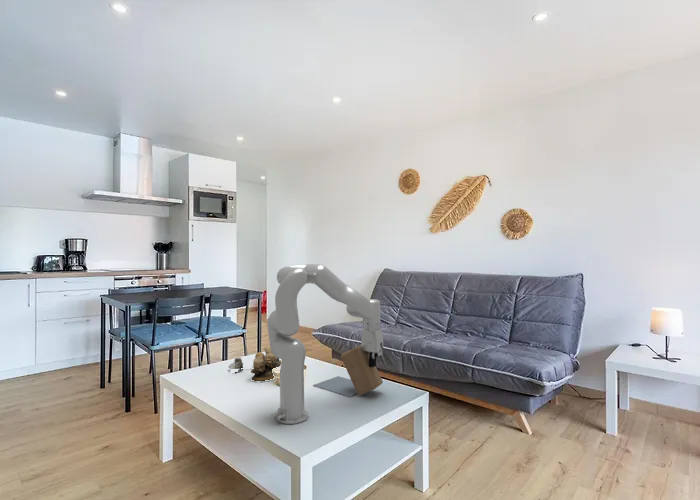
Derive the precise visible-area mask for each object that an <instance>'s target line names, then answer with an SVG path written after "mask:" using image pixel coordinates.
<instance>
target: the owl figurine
mask: <svg viewBox="0 0 700 500" xmlns="http://www.w3.org/2000/svg"><path fill="white" fill-rule="evenodd" d="M264 352H265V353H263V352H256V353H255V355H254V359H253V363H252V368H251V370H250V373H251V374H254V375H253V376H252V377H251V378H252V380H254V381H265V380H270V379H273V378H274V376H273V373H272V369H273V368H276V367H278V368H279V367H281V364H282V359H280V358H278V357H276V356H275V355H274V354H273V353H272V351H271V348H270V345H266V346H265V347H264ZM276 369H277V368H276Z"/></svg>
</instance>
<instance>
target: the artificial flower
mask: <svg viewBox="0 0 700 500" xmlns="http://www.w3.org/2000/svg"><path fill="white" fill-rule="evenodd" d="M243 366H244V362H243V360H242V358H241V357H236V358H235V359H234V360H233V362H232V363H230V364H229V365H228V368H230V369H239V370H240V369H241V368H244V367H243ZM228 368H227V369H228Z"/></svg>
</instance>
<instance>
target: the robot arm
mask: <svg viewBox="0 0 700 500" xmlns="http://www.w3.org/2000/svg"><path fill="white" fill-rule="evenodd" d="M276 280H277V282H278V284H279V285H278V287H277V290H276V292H275V297H274V303H275V304H274V305H275V309H274V310H273V311H272V312H271V313H269V316H268V318H267V333H268V340H269V346H270V348H271V351H272V353H273V354H274V355H275V356H276V357H278V358H279V360H281V362H282V364H281V365H280V369H279V371H280V378H279V400H280V401H279V406H280V407H278V408H277V411H276V412H274V413H271V414H270V416H269V417H270V420H274V419H276V420H277V422H279V423H281V424H285V425H293V424H295V425H296V424H300V423H303V422H305V421H306V420H307V419H309V412H308V411H306V410H305V360H306V355H307V354H306V353H307V352H306V347H305V345H304V343H303V342H302V341H301V340H299V339H298V338H296V337H293V336H295V335H296V334H297V333H298V332H299V330H300V319H299V310H298V295H299V293H300V291H301V290H302V289H303V287H304V286H305V285H306V284H313V285H316V286H317V287H318V288H319V289H320V290H322V292H323V293H325V294H326V295H327V296H329V298H331V299H332V300H335V301H336V302H338V303H342V304H344V305H346V307H345V308H346V313H347V314H348V315H349V316H350V317H351V316H352V317H355V318H359V319H363V323H362V326H363V329H362V331H361V339H360V345H361V349H362V350H363V351H365V353H366V354H367V355H368V358H369V367H375V366H376V367H377V358H378V356H383V355H384V354H383V353H384V352H383V351H384V336H383V332H382V331H383V330H382V329H381V302H380V300H378V299H375V298H374V299H372V298H368V297H366V296H365V295H364V294H362V293H361V292H359V291H358V290H356V289H354V288H353V287H352V286H350V285H348V284H347V283H345V282H343V280H341V278H340V277H338V276H337V275H336V274H335V273H334V272H332V271H331V270H330V269H329V268H328V267H327V266H326V265H324V264H319V263H308V264H300V265H290V266H283V267H281V268H280V269H279V270H278V272H277V273H276Z"/></svg>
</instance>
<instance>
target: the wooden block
mask: <svg viewBox="0 0 700 500" xmlns="http://www.w3.org/2000/svg"><path fill="white" fill-rule="evenodd" d="M340 357H341V360H342V363H343V365H344V366H345V369H346V372H347V375H349V379H350V380H351V381H352V383H353V385H354V387H355V390H356V392H357V394H356V395H358V396H362V395H364V394H367V393H370V392H372V391H374V390H376V389H377V388H379V387H380V386H381V385H382V384H383V379H382V377H381V375H380V373H379V371H378V369H377V365H376V366H375V367H369V358H368V355H367V354H366V353H365V351H363V350H362V349H361V344H360V345H358V346H356V347H354V348H352V349H350V350H347V351H345V352H343V353H342V354H341V355H340Z"/></svg>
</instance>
